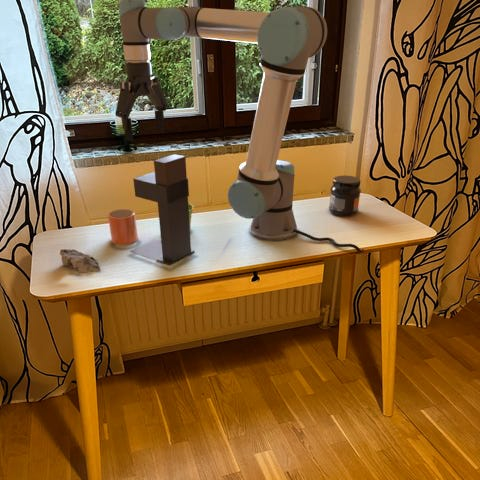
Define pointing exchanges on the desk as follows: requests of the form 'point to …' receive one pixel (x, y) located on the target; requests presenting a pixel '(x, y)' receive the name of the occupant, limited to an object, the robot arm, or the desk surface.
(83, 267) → the mineral rock
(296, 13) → the robot arm
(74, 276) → the desk surface
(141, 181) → the coffee maker
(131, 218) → the cup
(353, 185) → the supplement container
